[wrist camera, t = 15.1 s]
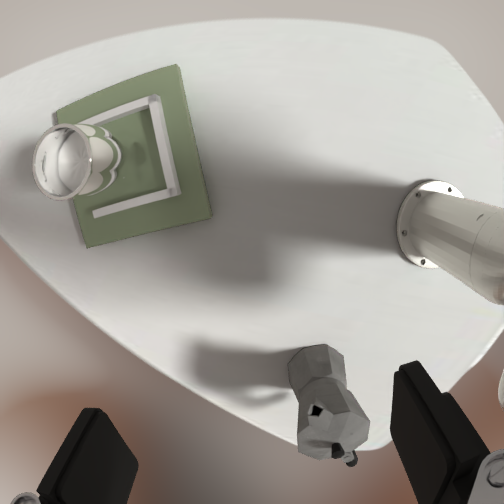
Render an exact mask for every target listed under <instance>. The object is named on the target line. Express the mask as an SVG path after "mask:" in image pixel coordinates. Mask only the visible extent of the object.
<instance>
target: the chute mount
mask: <svg viewBox="0 0 504 504" xmlns="http://www.w3.org/2000/svg"><path fill="white" fill-rule="evenodd" d="M56 113H57V120H58V124H63V123H66V124H90V125H95V126H99V127H102V128H104V129H106V130H109V131H110V132H112V133H114V134H115V135H117V136H122V135H131V136H134V137H136V138H138V139H139V140H140V141H141V142H142V143H143V144H144V146H145V148H146V151H147V164H146V167H145V169H144V171H143V173H142V174H141V175H140V176H139V177H138V178H137V179H136V180H134V181H132V182H128V183H119V182H116V183H115V184H113V185H112V186H110V187H109V188H107V189H105V190H103V191H101V192H100V193H97V194H94V195H91V196H87V197H83V198H76V199H73V201H74V205H75V209H76V213H77V216H78V220H79V224H80V227H81V231H82V234H83V238H84V241H85V244H86V248H91V247H94V246H98V245H102V244H106V243H110V242H114V241H118V240H122V239H126V238H130V237H134V236H138V235H142V234H146V233H150V232H154V231H158V230H162V229H167V228H171V227H175V226H179V225H184V224H188V223H192V222H197V221H201V220H206V219H210V218H211V217H212V211H211V207H210V203H209V199H208V195H207V190H206V186H205V182H204V177H203V173H202V169H201V164H200V160H199V155H198V151H197V146H196V142H195V137H194V133H193V128H192V124H191V119H190V114H189V110H188V105H187V100H186V95H185V91H184V86H183V81H182V76H181V71H180V68H179V66H178V65H177V64H174V65H171V66H167V67H164V68H161V69H158V70H155V71H152V72H149V73H146V74H143V75H140V76H137V77H135V78H132V79H129V80H126V81H124V82H121V83H119V84H116V85H113V86H111V87H108V88H106V89H104V90H101V91H99V92H96V93H94V94H92V95H89V96H87V97H85V98H83V99H81V100H78V101H76V102H74V103H72V104H70V105H68V106H66V107H64V108H62V109H60V110H58V111H56Z"/></svg>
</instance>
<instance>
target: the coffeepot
mask: <svg viewBox="0 0 504 504" xmlns="http://www.w3.org/2000/svg"><path fill="white" fill-rule="evenodd" d="M288 371H289V381H290V384H291V386H292V388H293V391H294V393H295V395H296V398H297V400H298V402H299V411H298V428H297V441H298V452H300V453H302V454H305V455H307V456H310V457H313V458H315V459H318V460H322V459H329V458H334V459H337V458H341V459H342V460H343V462H344V463H346V464H347V465H348V466H349V467H353V466H355V465H356V464H357V461H358V458H357V455H356V453H355V450H354V449H356V448H357V447H358V446H360V445H361V444H362V443H364V442H365V441H366V440H367V439H368V433H369V426H370V420H369V419H368V417H367V416H366V414H365V413H364V411H363V410H362V408H361V407H360V405H359V403H358V402H357V400H356V399H355V397H354V396H353V394H352V393H351V392H350V391H349V390H347V383H346V374H345V365H344V357H343V355H342V354H340V353H339V352H338V351H336V350H335V349H334V348H332V347H330V346H328V345H315V346H311V347H308V348H303V349H302V350H301V351H300V352H299V353H297V354H296V355H295V356H294V357H293V359H292V360H291V361H290V362H289V363H288Z"/></svg>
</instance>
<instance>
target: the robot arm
mask: <svg viewBox="0 0 504 504" xmlns="http://www.w3.org/2000/svg"><path fill="white" fill-rule="evenodd" d="M447 189H448V190H447ZM416 194H417V195H416ZM402 231H403V233H402ZM397 237H398V242H399V245H400V247H401V249H402V251H403V253H404V254H405V256H406V257H407V258H408V259H409V260H410V261H412V262H413V263H414V264H416V265H418V266H420V267H422V268H428V269H432V268H438V267H440V268H442V269H443V270H445V271H446V272H448V273H449V274H451V275H452V276H454V277H455V278H457V279H458V280H460V281H461V282H462V283H464V284H465V285H467V286H468V287H470V288H471V289H472V290H474V291H475V292H477V293H478V294H479V295H481V296H483V297H484V298H485V299H487V300H488V301H490V302H492V303H495V304H498V305H504V209H503V208H500V207H496V206H493V205H489V204H485V203H482V202H478V201H474V200H470V199H466V198H464V197H463V196H462V194H461V193H460V192H459V191H458V189H456V188H455V187H454V186H453V185H451V184H449V183H447V182H442V181H435V180H433V181H427V182H424V183H422V184H420V185H418V186H417V187H415V188H414V189H413V190H412V191H411V192H410V193H409V194H408V195H407V197H406V198H405V200H404V201H403V203H402V205H401V208H400V210H399V214H398V218H397ZM498 397H499V402H500V405H501V407H502V409H503V411H504V370H503V373H502V376H501V379H500V383H499V389H498ZM390 432H391V436H392V439H393V441H394V444H395V446H396V449H397V451H398V453H399V456H400V458H401V461H402V463H403V465H404V468H405V471H406V473H407V475H408V478H409V481H410V483H411V485H412V488H413V491H414V493H415V495H416V498H417V501H418V504H504V449H500V450H497V451H494V452H492V453H490V451H489V450H488V448H487V447H486V445H485V443H484V442H483V440H482V439H481V437H480V436H479V434H478V433H477V431H476V430H475V429H474V427H473V425H472V424H471V422H470V421H469V419H468V418H467V417H466V415H465V414H464V412H463V411H462V409H461V408H460V406H459V405H458V404H457V402H456V401H455V399H454V398H453V397H452V396H451V394H450V393H448V392H444V393H441V392H440V390H439V389H438V387H437V386H436V385H435V383H434V382H433V380H432V379H431V377H430V376H429V375H428V373H427V372H426V370H425V369H424V368H423V366H422V365H421V363H420V362H419V361H417V360H416V361H413V362H410V363H407V364H404V365H401V366H400V367H399V371H397V372H395V373H394V385H393V400H392V413H391V424H390ZM137 470H138V461H137V459H136V458H135V456H134V455H133V454H132V452H131V450H130V449H129V448H128V446H127V445H126V443H125V442H124V440H123V439H122V437H121V436H120V434H119V433H118V431H117V430H116V428H115V427H114V425H113V423H112V422H111V420H110V419H109V417H108V415H107V414H106V413H105V412H103V411H102V410H101V409H100V408H84V409H83V410H82V411H81V413H80V415H79V417H78V418H77V420H76V421H75V423H74V425H73V426H72V428H71V430H70V432H69V433H68V435H67V437H66V438H65V440H64V442H63V444H62V445H61V447H60V449H59V451H58V452H57V454H56V456H55V457H54V459H53V461H52V463H51V465H50V466H49V468H48V470H47V472H46V474H45V475H44V477H43V479H42V481H41V483H40V485H39V486H38V488H37V492H38V493H39V494H40V496H39V498H38V497H37V496H36V495H35V494H33V493H28V492H25V493H21V494H19V495H18V496H16V497H15V498H14V499H13V501H12V502H11V504H127V501H128V498H129V494H130V492H131V488H132V486H133V482H134V479H135V476H136V473H137Z"/></svg>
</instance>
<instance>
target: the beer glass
mask: <svg viewBox="0 0 504 504" xmlns="http://www.w3.org/2000/svg"><path fill="white" fill-rule="evenodd" d="M146 164H147V151H146V148H145V146H144V144H143V143H142V142H141V141H140V140H139V139H138V138H136V137H134V136H131V135H122V136H117V135H115V134H114V133H112V132H110V131H109V130H106V129H104V128H102V127H99V126H95V125H90V124H66V123H63V124H58V125H55V126H53V127H51V128H50V129H48V130H47V131H46V132H45V133H44V134H43V135H42V136H41V138H40V139H39V141H38V143H37V145H36V147H35V150H34V154H33V160H32V170H33V176H34V179H35V182H36V184H37V186H38V188H39V189H40V191H41V192H42V193H43V194H44V195H45V196H47V197H48V198H50V199H53V200H58V201H63V200H67V199H76V198H83V197H87V196H91V195H94V194H97V193H100V192H101V191H103V190H105V189H107V188H109V187H110V186H112V185H113V184H115V183H116V182H119V183H128V182H132V181H134V180H136V179H137V178H138V177H139V176H140V175H141V174H142V173H143V171H144V169H145V167H146Z"/></svg>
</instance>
